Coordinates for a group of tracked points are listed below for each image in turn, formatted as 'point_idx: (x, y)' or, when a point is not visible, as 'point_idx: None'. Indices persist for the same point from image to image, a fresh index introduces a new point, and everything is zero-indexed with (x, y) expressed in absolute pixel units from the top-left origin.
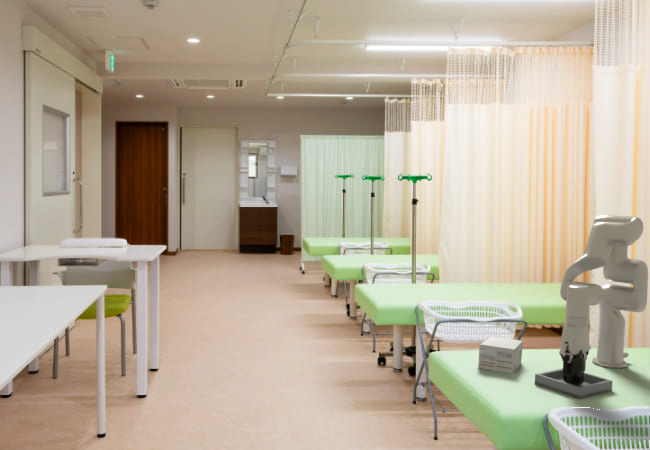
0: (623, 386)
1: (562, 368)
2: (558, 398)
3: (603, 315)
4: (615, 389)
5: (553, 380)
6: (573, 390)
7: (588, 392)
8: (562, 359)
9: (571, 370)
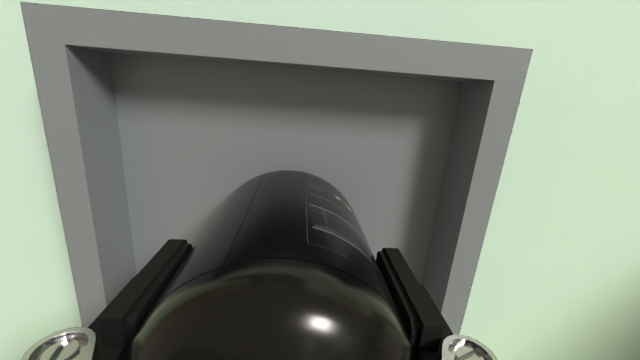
0: (541, 338)
1: (458, 43)
2: (21, 291)
3: None
4: None
5: (65, 211)
6: None
7: None
8: (27, 356)
9: None
